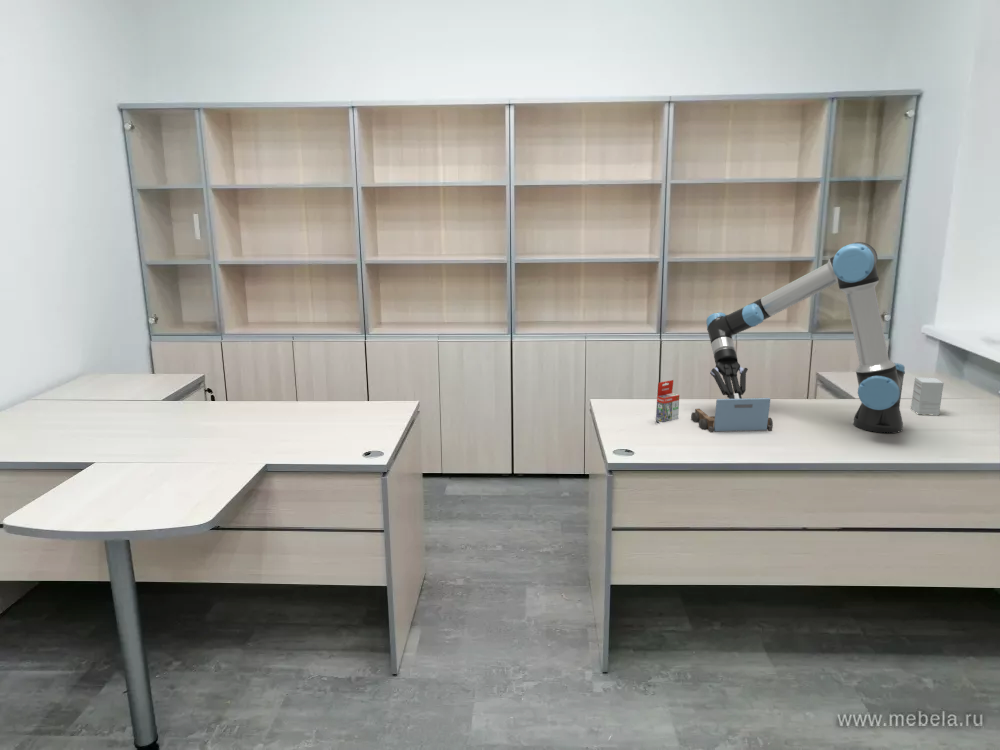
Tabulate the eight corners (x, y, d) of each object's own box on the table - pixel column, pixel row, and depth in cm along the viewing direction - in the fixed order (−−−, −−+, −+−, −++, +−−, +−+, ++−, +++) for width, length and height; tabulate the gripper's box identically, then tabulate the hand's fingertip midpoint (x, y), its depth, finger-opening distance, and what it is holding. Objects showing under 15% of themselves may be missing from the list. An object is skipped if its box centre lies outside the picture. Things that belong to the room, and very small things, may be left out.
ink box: (678, 421, 254) (681, 381, 250) (662, 425, 249) (665, 384, 246) (670, 418, 257) (673, 379, 253) (655, 422, 252) (657, 382, 249)
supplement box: (931, 410, 267) (936, 377, 264) (939, 416, 260) (944, 382, 257) (909, 409, 268) (914, 376, 265) (917, 415, 261) (922, 381, 258)
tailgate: (713, 432, 240) (716, 399, 237) (765, 431, 242) (769, 397, 238) (714, 433, 239) (718, 400, 235) (766, 432, 240) (770, 399, 237)
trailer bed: (689, 420, 254) (690, 408, 253) (756, 419, 256) (757, 407, 255) (705, 435, 239) (706, 422, 238) (776, 433, 240) (777, 420, 239)
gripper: (738, 358, 255) (753, 416, 244) (703, 358, 255) (716, 417, 243) (746, 346, 249) (761, 406, 237) (709, 347, 248) (723, 407, 236)
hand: (738, 412), depth 240 cm, fingers closed
